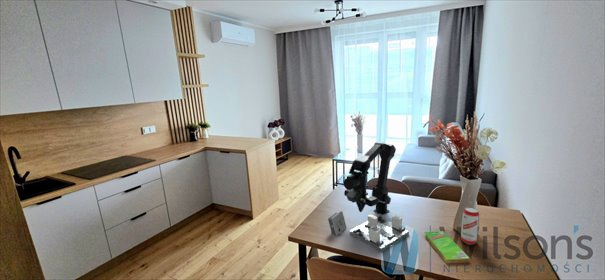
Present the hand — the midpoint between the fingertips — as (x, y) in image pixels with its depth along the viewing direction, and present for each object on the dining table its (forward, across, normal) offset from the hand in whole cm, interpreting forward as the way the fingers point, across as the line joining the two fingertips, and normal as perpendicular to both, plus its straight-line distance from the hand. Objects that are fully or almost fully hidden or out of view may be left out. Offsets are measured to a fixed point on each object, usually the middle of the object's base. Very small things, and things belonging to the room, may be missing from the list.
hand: (360, 211), depth 141 cm
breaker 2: (+5, +16, -9) cm, 19 cm away
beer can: (+8, +42, +26) cm, 50 cm away
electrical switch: (+8, -4, -13) cm, 16 cm away
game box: (+8, +37, +13) cm, 41 cm away
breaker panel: (+8, +12, 0) cm, 14 cm away
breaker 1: (+5, +8, 0) cm, 9 cm away
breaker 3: (+5, +16, +8) cm, 19 cm away
